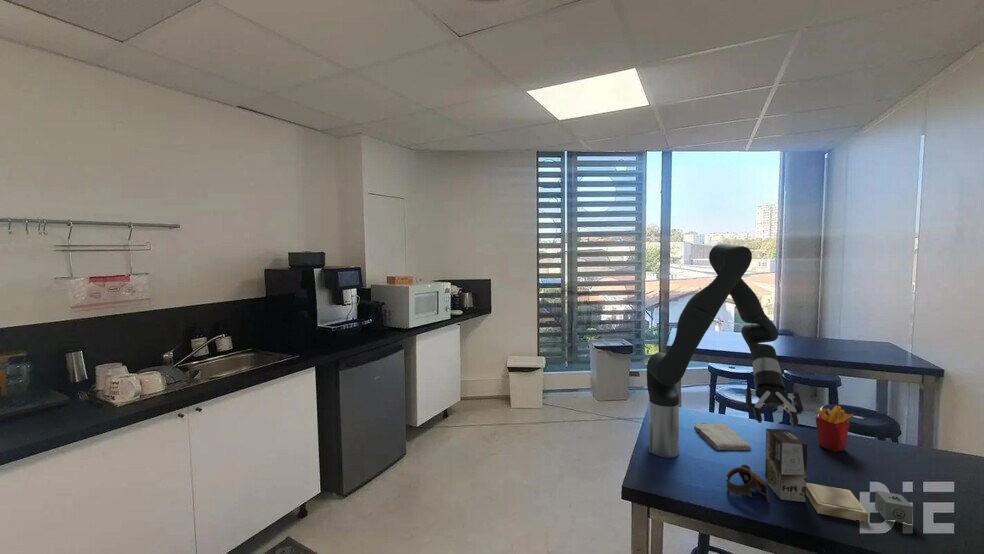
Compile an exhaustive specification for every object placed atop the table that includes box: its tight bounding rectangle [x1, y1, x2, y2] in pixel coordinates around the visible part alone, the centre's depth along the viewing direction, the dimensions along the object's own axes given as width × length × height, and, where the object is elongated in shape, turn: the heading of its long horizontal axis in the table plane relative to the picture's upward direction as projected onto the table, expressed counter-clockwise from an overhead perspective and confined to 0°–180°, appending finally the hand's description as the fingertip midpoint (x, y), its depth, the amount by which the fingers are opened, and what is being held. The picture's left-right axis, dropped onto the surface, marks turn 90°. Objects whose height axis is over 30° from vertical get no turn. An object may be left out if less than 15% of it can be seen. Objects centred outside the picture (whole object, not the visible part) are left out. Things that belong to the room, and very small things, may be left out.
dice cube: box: [874, 490, 914, 525], centre depth 98 cm, size 5×5×5 cm
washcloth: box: [693, 422, 752, 451], centre depth 141 cm, size 12×18×3 cm, turn 179°
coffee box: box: [764, 428, 808, 503], centre depth 109 cm, size 9×6×16 cm
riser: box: [806, 482, 869, 523], centre depth 103 cm, size 10×10×3 cm
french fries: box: [815, 405, 854, 453], centre depth 131 cm, size 9×8×15 cm
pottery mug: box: [725, 464, 770, 503], centre depth 109 cm, size 12×10×8 cm
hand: (777, 424), depth 117 cm, fingers open, 8 cm apart
